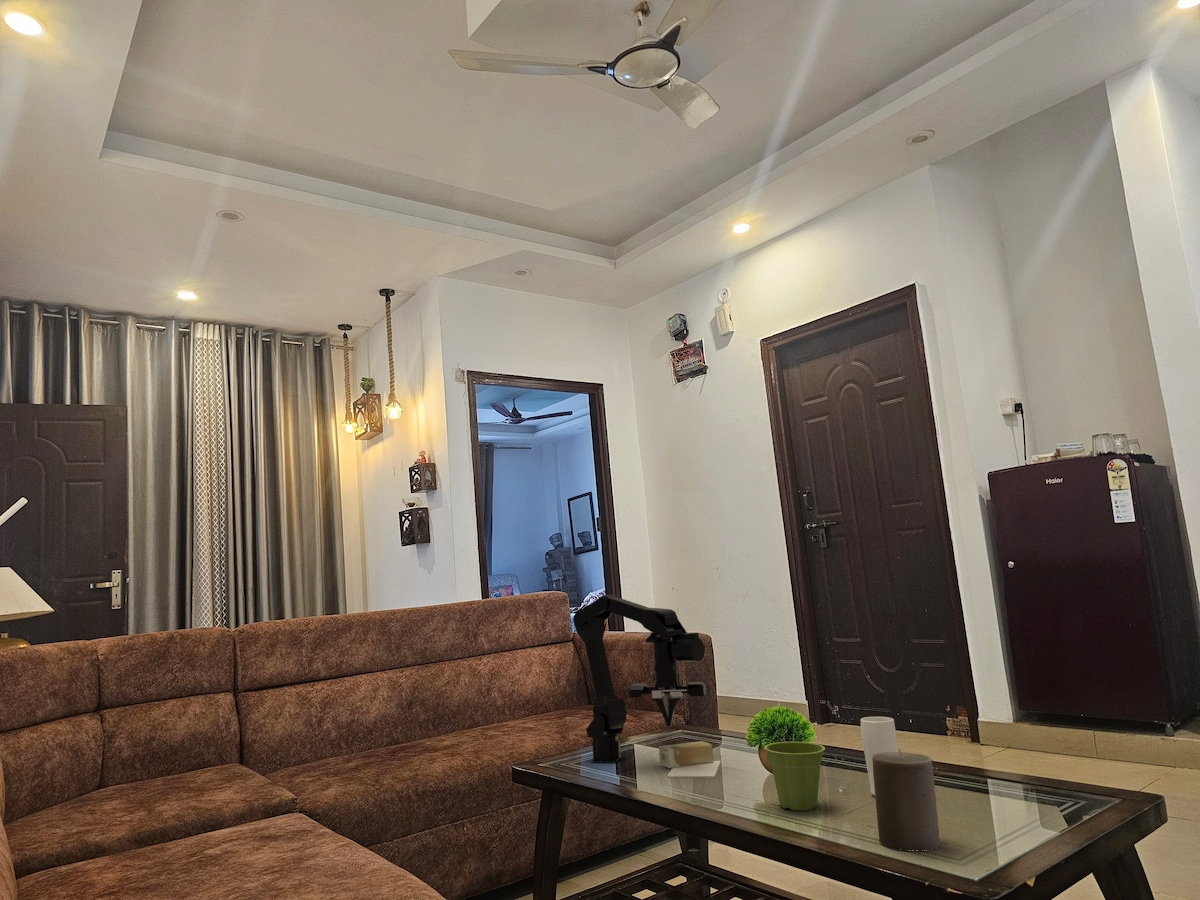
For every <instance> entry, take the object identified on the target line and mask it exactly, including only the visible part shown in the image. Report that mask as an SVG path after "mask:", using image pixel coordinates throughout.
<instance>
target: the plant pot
mask: <svg viewBox="0 0 1200 900" xmlns="http://www.w3.org/2000/svg"><path fill="white" fill-rule="evenodd" d="M764 750H765V751H766V752H767V757H768V759H769V760H768V761H769V763H770V764H771V769H772V774H773V778H774V779H773V780H774V782H775V784H774V785H775V788H776V793H777V797H778V803H779V806H780V807H782V808H783V809H787V808H788V809H790V810H792V811H795V812H796V811H797V812H798V811H799V812H801V811H804V812H805V811H811V810H813V809H815V808H817V807H818V802H819V801H818V800H819V787H820V775H821V764H822V763H823V762H822V761H823V753H824V752H825V751H826V748H825V746H823V745H822V744H819V743H814V742H807V741H781V742H772V743H768V744H766V745H765V746H764Z"/></svg>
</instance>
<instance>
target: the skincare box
mask: <svg viewBox="0 0 1200 900" xmlns="http://www.w3.org/2000/svg"><path fill="white" fill-rule="evenodd" d="M713 750H714V749H713V744H711V743H709V742H706V741H702V740H700V741H694V742H685V743H675V744H667V745H659V746H658V757H659V764H660V765H661V766H663V767H666V768H668V769H672V768H674V767H682V766H690V765H697V764H705V763H713V762H714V761H715V760H714V751H713Z"/></svg>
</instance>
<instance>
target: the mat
mask: <svg viewBox="0 0 1200 900" xmlns="http://www.w3.org/2000/svg"><path fill="white" fill-rule="evenodd" d="M713 761H714V762H713V763H705V764H697V765H690V766H682V767H674V768H670V769H671V770H670V771H669V772H668V774H667V777H666V778H688V779H689V778H693V779H694V778H697V779H700V778H702V779H705V778H706V779H708V778H709V779H712V778H713V779H715V777H716V775H717V772H718V770H719V768H720V766H721V763H722V761H721V760H713Z"/></svg>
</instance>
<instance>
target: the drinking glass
mask: <svg viewBox="0 0 1200 900" xmlns="http://www.w3.org/2000/svg"><path fill="white" fill-rule="evenodd" d="M859 720H860V733H861V741H862V747H863V753H864V757H865V765H866V768H867V775H868V781H869V788H870V794H871V795H872V794H873V795H875V787H874V776H873V760H872V757H873V755H874V754H877V753H883V752H898V747H897V732H896V731H897V730H896V725H895V719H894V718H892V717H887V716H866V717H862V718H860V719H859ZM873 795H872V796H873Z"/></svg>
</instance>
